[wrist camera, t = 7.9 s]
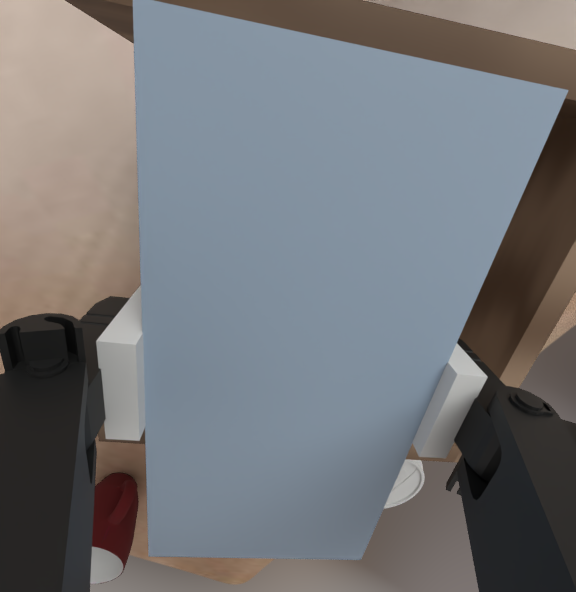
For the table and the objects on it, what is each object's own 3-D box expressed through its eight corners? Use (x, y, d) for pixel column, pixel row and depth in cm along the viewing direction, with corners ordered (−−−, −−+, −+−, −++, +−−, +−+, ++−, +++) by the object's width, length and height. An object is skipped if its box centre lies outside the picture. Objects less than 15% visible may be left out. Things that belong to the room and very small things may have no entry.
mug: (107, 442, 43) (66, 524, 34) (167, 462, 46) (143, 544, 37) (81, 490, 47) (38, 575, 38) (138, 506, 49) (110, 590, 40)
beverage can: (306, 366, 40) (326, 488, 26) (347, 331, 38) (392, 443, 25) (342, 394, 42) (379, 519, 29) (383, 362, 40) (443, 480, 27)
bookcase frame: (193, 62, 26) (38, -75, 8) (427, 108, 28) (700, 78, 11) (186, 274, 34) (98, 441, 16) (371, 297, 36) (474, 463, 18)
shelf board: (174, 38, 7) (132, -5, 5) (482, 101, 8) (568, 90, 6) (168, 482, 13) (148, 556, 11) (345, 490, 14) (360, 560, 12)
